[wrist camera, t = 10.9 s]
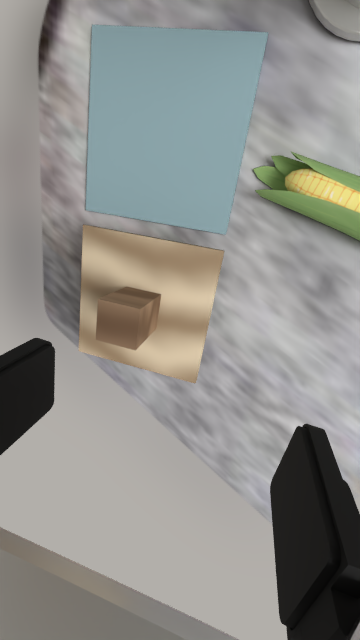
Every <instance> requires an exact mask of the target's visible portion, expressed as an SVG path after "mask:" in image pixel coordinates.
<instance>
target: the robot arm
mask: <svg viewBox="0 0 360 640" xmlns="http://www.w3.org/2000/svg"><path fill="white" fill-rule="evenodd" d="M309 2H310V5H311V7H312V9H313V11H314V13H315V15H316V17H317V18H318V19H319V21H320V22H321V23H322V24H323V25H324V27H325V28H326V29H328V30H329V31H331V32H332V33H333V34H335V35H336V36H339V37H342V38H344V39H347V40H351V41H360V0H309ZM54 367H55V349H54V347H52V344H51V342H49V341H46V340H43V339H39V338H34V339H32V340H30V341H28V342H26V343H24V344H22V345H20V346H18V347H16V348H14V349H12V350H11V351H8V352H6V353H5V354H3V355H1V356H0V455H1V454H2V453H3V452H4V451H5V450H7V449H8V448H9V447H10V446H11V445H12V444H13V443H14V442H15V441H17V440H18V439H19V438H20V437H21V436H22V435H23V434H24V433H25V432H26V431H27V430H28V429H30V428H31V427H32V426H33V425H34V424H35V423H36V422H37V421H38V420H39V419H41V417H43V416H44V415H45V414H46V413H47V412H48V411H49V410H50V409H51V407H52V406H53V403H54V373H55V372H54V370H55V368H54ZM270 494H271V508H272V522H273V535H274V548H275V562H276V576H277V590H278V603H279V615H280V620H281V623H282V624H284V625H286V626H287V638H288V640H360V514H359V511H358V509H357V506H356V504H355V501H354V498H353V495H352V493H351V490H350V488H349V486H348V484H347V483H346V482H345V481H344V480H343V479H342V476H341V473H340V471H339V468H338V465H337V462H336V459H335V457H334V454H333V451H332V448H331V446H330V443H329V440H328V437H327V435H326V432H325V430H323V429H321V428H318V427H315V426H312V425H309V424H304V425H303V427H300V426H298V427H297V428H296V430H295V432H294V434H293V436H292V438H291V440H290V443H289V445H288V447H287V449H286V451H285V453H284V455H283V457H282V460H281V462H280V464H279V466H278V468H277V470H276V472H275V474H274V477H273V479H272V482H271V487H270ZM0 640H238V639H236V638H234V637H232V636H230V635H228V634H226V633H224V632H222V631H220V630H218V629H216V628H214V627H212V626H210V625H208V624H206V623H204V622H202V621H200V620H198V619H195V618H193V617H191V616H189V615H187V614H185V613H183V612H181V611H178V610H176V609H174V608H172V607H170V606H168V605H166V604H163V603H161V602H159V601H157V600H155V599H153V598H151V597H149V596H147V595H144V594H142V593H140V592H138V591H136V590H134V589H132V588H130V587H128V586H125V585H123V584H121V583H119V582H117V581H115V580H113V579H110V578H108V577H106V576H104V575H102V574H100V573H98V572H95V571H93V570H91V569H89V568H87V567H85V566H83V565H80V564H78V563H76V562H74V561H72V560H70V559H67V558H65V557H63V556H61V555H59V554H57V553H55V552H52V551H50V550H48V549H46V548H44V547H42V546H40V545H37V544H35V543H33V542H31V541H29V540H27V539H24V538H22V537H20V536H18V535H16V534H13V533H11V532H9V531H7V530H5V529H3V528H1V527H0Z"/></svg>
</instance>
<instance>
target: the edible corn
mask: <svg viewBox="0 0 360 640" xmlns="http://www.w3.org/2000/svg"><path fill="white" fill-rule="evenodd" d="M291 153H292V154H293V155H294V156H295V157H296V158H297V159H299V160H301V161H303V162H305V163H306V164H305V163H302V162H299V161H296V160H293V159H290V158H287V157H284V156H272V159H273V161H274V164H275V166H276V167H269V166H262V167H258V168H255V169H253V170H254V172H255V173H256V175H257V177H258V178H259V179H260V180H261V181H262V182H264V183H265V184H266V185H268V186H269V187H270V188H272V189H273V190H267V189H263V190H255V191H256V192H257V193H258V194H259V195H260V196H261V197H263V198H265V199H268V200H270V201H272V202H275V203H277V204H280V205H282V206H284V207H287V208H289V209H291V210H294V211H296V212H298V213H301V214H303V215H305V216H308V217H310V218H312V219H314V220H316V221H319V222H321V223H323V224H325V225H328V226H330V227H332V228H334V229H336V230H339V231H341V232H343V233H345V234H347V235H349V236H351V237H353V238H355V239H357V240H359V241H360V176H357V175H354V174H351V173H348V172H346V171H343V170H340V169H337V168H334V167H331V166H329V165H326V164H323V163H320V162H318V161H315V160H312V159H310V158H307V157H304V156H301V155H299V154H296V153H293V152H291Z"/></svg>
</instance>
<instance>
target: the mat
mask: <svg viewBox="0 0 360 640" xmlns="http://www.w3.org/2000/svg"><path fill="white" fill-rule="evenodd" d="M267 38H268V32H247V31H225V30H202V29H179V28H156V27H134V26H111V25H92V41H91V70H90V99H89V127H88V156H87V184H86V210H88V211H94V212H100V213H105V214H111V215H117V216H122V217H128V218H134V219H139V220H145V221H151V222H157V223H162V224H168V225H174V226H179V227H185V228H191V229H196V230H202V231H208V232H214V233H219V234H225V235H226V232H227V227H228V222H229V218H230V213H231V208H232V203H233V199H234V194H235V189H236V184H237V180H238V175H239V170H240V166H241V161H242V156H243V151H244V147H245V142H246V137H247V132H248V128H249V123H250V118H251V113H252V109H253V104H254V99H255V95H256V90H257V85H258V80H259V76H260V71H261V66H262V61H263V57H264V52H265V47H266V42H267Z"/></svg>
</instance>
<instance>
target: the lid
mask: <svg viewBox="0 0 360 640" xmlns="http://www.w3.org/2000/svg"><path fill="white" fill-rule="evenodd" d="M223 255H224V251H223V250H218V249H213V248H207V247H202V246H197V245H191V244H186V243H181V242H175V241H170V240H165V239H159V238H154V237H149V236H143V235H138V234H133V233H127V232H122V231H117V230H111V229H106V228H101V227H95V226H90V225H83V241H82V271H81V300H80V330H79V351H80V352H84V353H88V354H91V355H95V356H98V357H102V358H106V359H109V360H113V361H116V362H120V363H123V364H127V365H131V366H134V367H138V368H141V369H145V370H149V371H152V372H156V373H159V374H163V375H167V376H170V377H174V378H177V379H181V380H185V381H188V382H192V383H196V380H197V376H198V371H199V367H200V362H201V357H202V353H203V348H204V343H205V339H206V334H207V330H208V325H209V320H210V316H211V311H212V306H213V302H214V297H215V292H216V288H217V283H218V278H219V274H220V269H221V265H222V260H223Z"/></svg>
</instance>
